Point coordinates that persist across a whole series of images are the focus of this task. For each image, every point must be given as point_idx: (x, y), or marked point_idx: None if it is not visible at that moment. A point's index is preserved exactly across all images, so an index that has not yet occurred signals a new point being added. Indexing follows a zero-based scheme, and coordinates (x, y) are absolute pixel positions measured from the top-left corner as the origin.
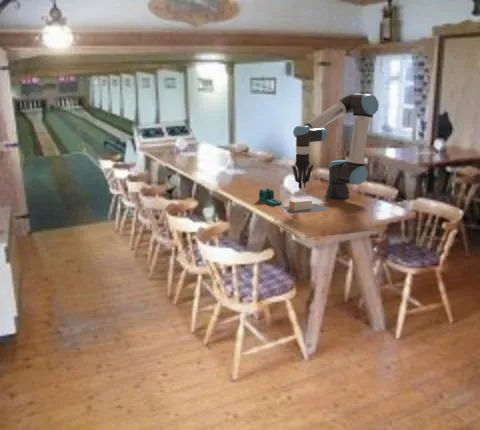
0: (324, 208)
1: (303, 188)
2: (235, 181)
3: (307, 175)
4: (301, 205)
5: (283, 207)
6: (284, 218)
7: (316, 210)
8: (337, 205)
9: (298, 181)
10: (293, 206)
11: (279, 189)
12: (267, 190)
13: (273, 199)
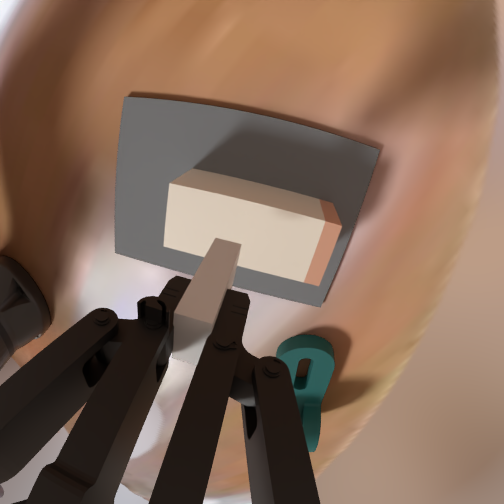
0: (119, 139)
1: (205, 271)
2: (234, 491)
3: (67, 389)
4: (264, 194)
5: (323, 293)
6: (461, 117)
7: (185, 120)
8: (44, 178)
9: (263, 365)
10: (329, 211)
11: (167, 439)
12: None
13: None
